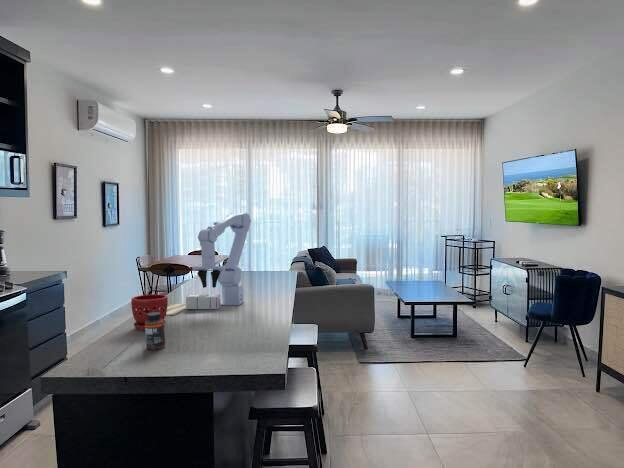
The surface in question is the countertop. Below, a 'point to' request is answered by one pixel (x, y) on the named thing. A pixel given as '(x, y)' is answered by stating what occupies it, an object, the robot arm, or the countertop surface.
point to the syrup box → (202, 301)
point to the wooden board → (175, 309)
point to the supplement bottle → (154, 331)
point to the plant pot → (148, 303)
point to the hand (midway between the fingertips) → (209, 287)
